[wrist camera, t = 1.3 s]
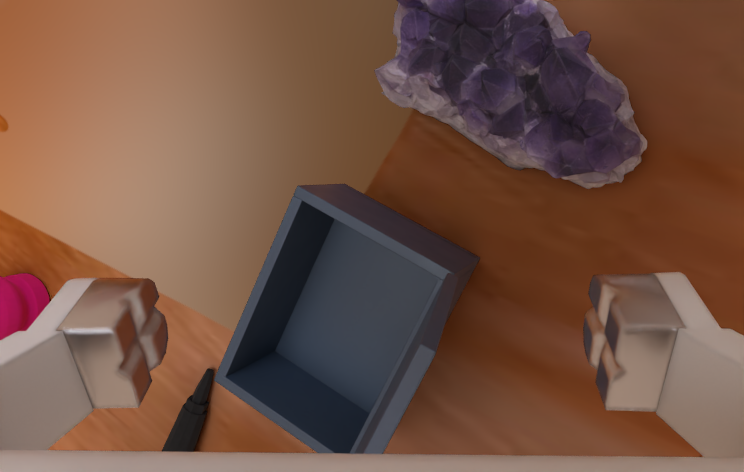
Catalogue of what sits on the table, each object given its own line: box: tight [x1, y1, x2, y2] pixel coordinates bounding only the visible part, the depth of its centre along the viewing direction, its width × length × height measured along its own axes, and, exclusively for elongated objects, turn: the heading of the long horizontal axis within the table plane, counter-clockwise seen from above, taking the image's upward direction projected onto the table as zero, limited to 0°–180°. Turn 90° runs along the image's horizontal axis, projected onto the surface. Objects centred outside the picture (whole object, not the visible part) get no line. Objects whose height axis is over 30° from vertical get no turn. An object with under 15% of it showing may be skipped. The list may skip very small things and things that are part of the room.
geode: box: [374, 0, 647, 189], centre depth 41 cm, size 20×12×10 cm, turn 58°
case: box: [214, 184, 480, 454], centre depth 48 cm, size 13×17×8 cm
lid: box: [354, 273, 459, 454], centre depth 35 cm, size 13×17×1 cm
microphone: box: [162, 369, 214, 452], centre depth 58 cm, size 6×6×20 cm
